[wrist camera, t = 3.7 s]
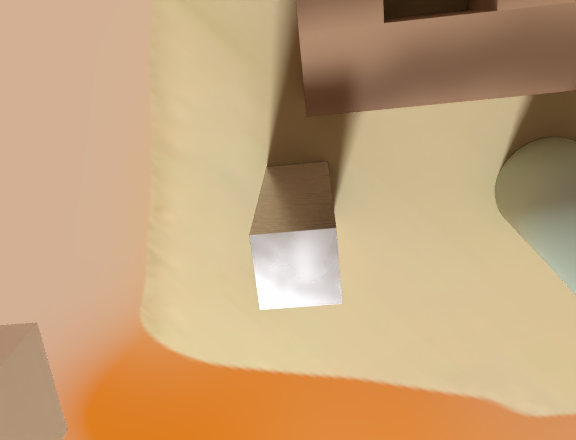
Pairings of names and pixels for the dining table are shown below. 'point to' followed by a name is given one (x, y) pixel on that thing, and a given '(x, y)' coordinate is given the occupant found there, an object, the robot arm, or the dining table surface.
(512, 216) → the round peg
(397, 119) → the dining table surface
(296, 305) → the square peg
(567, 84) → the socket block
